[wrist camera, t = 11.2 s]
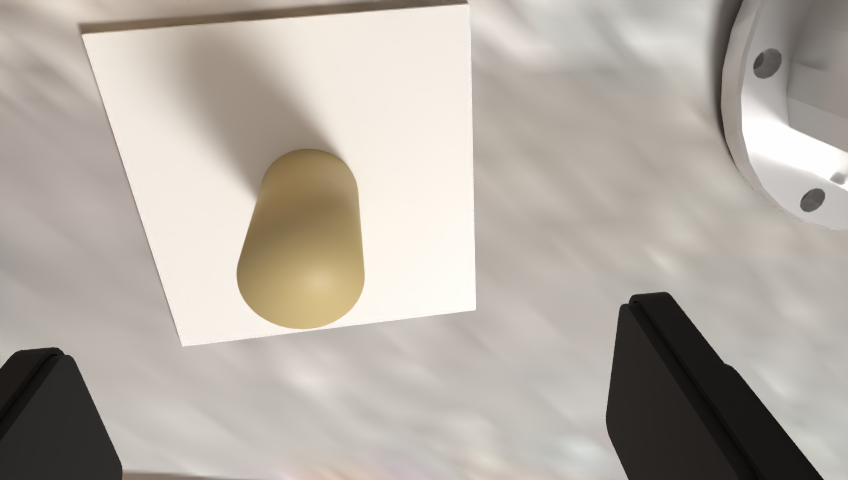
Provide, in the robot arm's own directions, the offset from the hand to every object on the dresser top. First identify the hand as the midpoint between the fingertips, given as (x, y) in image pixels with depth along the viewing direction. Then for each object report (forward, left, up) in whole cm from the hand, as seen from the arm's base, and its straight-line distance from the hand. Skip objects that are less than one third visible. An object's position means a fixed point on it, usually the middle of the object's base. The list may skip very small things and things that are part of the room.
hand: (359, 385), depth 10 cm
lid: (+1, 0, -10) cm, 10 cm away
